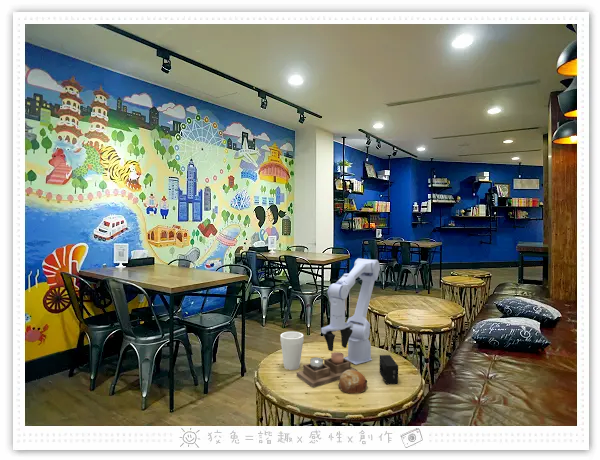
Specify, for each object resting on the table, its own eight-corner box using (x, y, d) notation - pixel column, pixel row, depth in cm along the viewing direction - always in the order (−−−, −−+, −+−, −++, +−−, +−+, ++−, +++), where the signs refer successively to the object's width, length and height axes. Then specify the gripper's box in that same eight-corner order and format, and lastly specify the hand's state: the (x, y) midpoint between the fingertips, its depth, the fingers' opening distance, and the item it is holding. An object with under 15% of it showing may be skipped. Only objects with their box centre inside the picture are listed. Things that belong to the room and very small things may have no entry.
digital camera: (376, 372, 140) (376, 354, 139) (389, 372, 140) (390, 354, 140) (383, 384, 129) (383, 365, 129) (398, 384, 129) (398, 365, 129)
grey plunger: (318, 364, 137) (318, 356, 137) (325, 368, 133) (325, 360, 133) (307, 366, 135) (307, 359, 134) (315, 371, 131) (315, 363, 130)
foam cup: (300, 372, 139) (300, 339, 138) (277, 370, 141) (277, 338, 140) (305, 363, 148) (305, 332, 148) (283, 361, 150) (283, 330, 150)
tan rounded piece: (338, 358, 143) (338, 351, 142) (346, 362, 138) (346, 355, 138) (328, 361, 140) (328, 353, 140) (336, 365, 136) (336, 357, 136)
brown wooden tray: (339, 364, 147) (339, 353, 147) (357, 374, 138) (357, 362, 138) (296, 376, 136) (296, 364, 135) (312, 387, 126) (312, 375, 126)
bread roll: (342, 390, 132) (333, 371, 132) (367, 379, 132) (358, 360, 132) (344, 404, 122) (335, 383, 122) (371, 392, 122) (362, 371, 122)
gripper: (345, 309, 146) (345, 342, 146) (316, 314, 138) (316, 348, 139) (356, 313, 140) (356, 347, 140) (327, 318, 132) (327, 354, 133)
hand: (337, 348), depth 139 cm, fingers open, 6 cm apart
